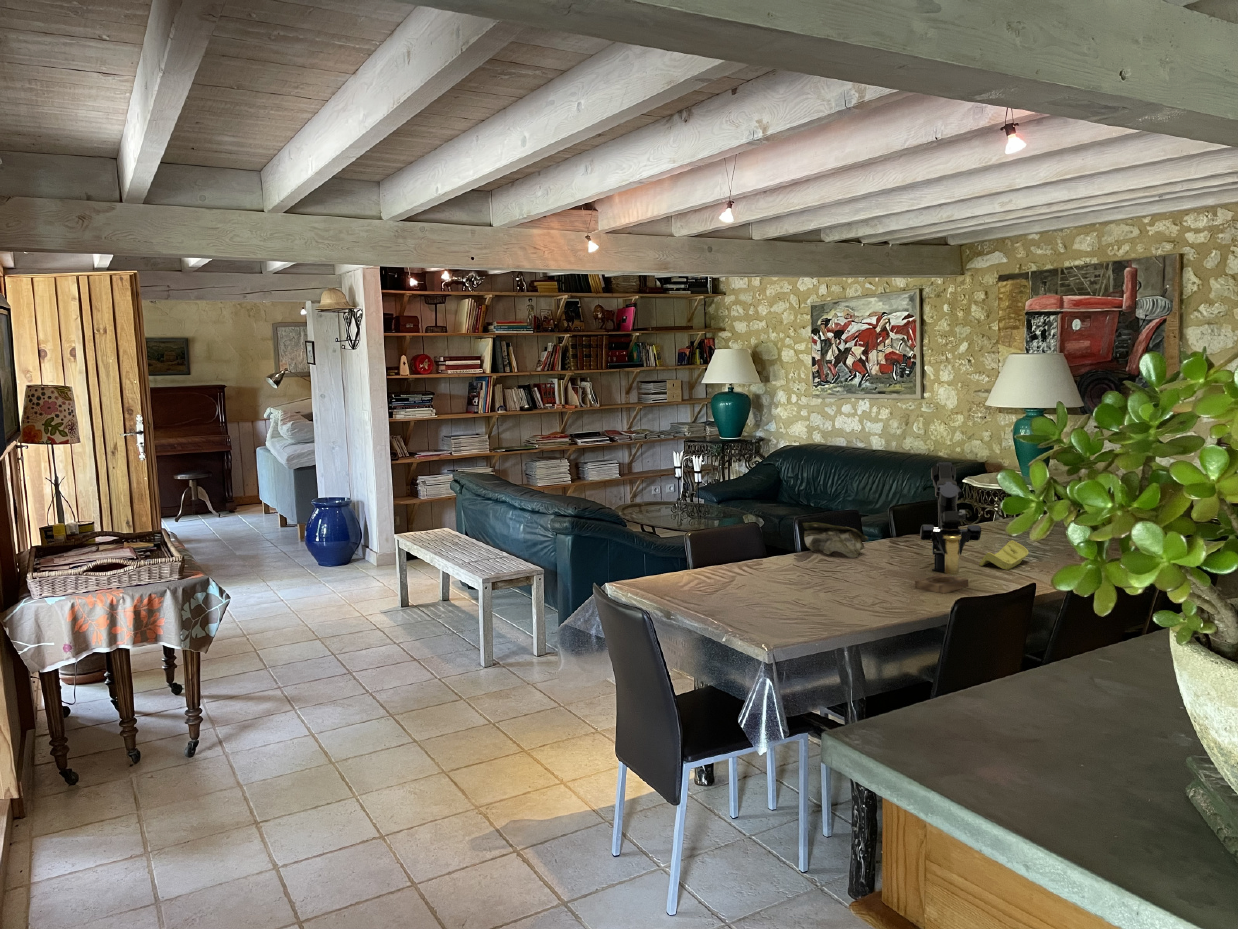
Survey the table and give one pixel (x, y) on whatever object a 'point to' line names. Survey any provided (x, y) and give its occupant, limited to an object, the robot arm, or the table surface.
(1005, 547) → the plastic component
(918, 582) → the jig
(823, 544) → the hollow geode rock
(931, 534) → the robot arm
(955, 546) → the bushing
